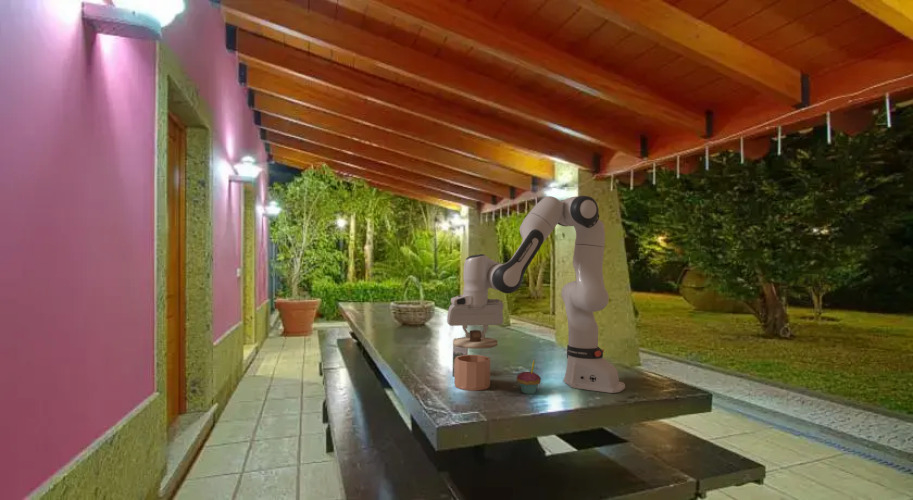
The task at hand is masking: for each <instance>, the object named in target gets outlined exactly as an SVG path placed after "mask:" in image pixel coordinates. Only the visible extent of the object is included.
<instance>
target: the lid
mask: <svg viewBox="0 0 913 500" xmlns="http://www.w3.org/2000/svg"><path fill="white" fill-rule="evenodd" d="M481 332H482V331H481V330H477V329H476V330H475V329H473V330H472V329H471V330H469V333H470V338H466V336H463V337H457V338H456V339H454V338H453V340H452V346H453V345H454V346H457V347H461V348H468V349H473V350H475V349H476V350H479V349H482V350H483V349H491V348H496V347H497V346H498V340H497V339H495V338H491V337H486V336H485V338H481Z"/></svg>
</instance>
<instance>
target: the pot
mask: <svg viewBox="0 0 913 500" xmlns="http://www.w3.org/2000/svg"><path fill="white" fill-rule="evenodd" d="M490 386H491V357H489V356H485V355H481V354H468V355H461V356H457V357H456V358H455V377H454V387H456V388H457V389H459V390H461V391H470V392H473V391H474V392H475V391H485V390H488V389H489V388H490Z"/></svg>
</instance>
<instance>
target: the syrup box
mask: <svg viewBox="0 0 913 500" xmlns="http://www.w3.org/2000/svg"><path fill="white" fill-rule="evenodd" d="M454 339H457V338H456V337H455V338H453V340H454ZM468 351H469V348H461V347H457V346H454V345H453V344H452V372H451V373H452V377H454V378H455V358H456V357H457V356H461V355H469V354H468Z"/></svg>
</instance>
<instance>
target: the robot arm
mask: <svg viewBox="0 0 913 500" xmlns="http://www.w3.org/2000/svg"><path fill="white" fill-rule="evenodd" d="M598 206H599V205H598V204H597V201H596V200H595V199H594V198H593V197H591V196H588V195H577V196H571V197H568V198H565V199H561V200H560V199H558V198H556V197H554V196H550V195H547V196H544V197H543V198H541V200H539V202H537V203H536V204H535V205H534V206H533V207H532V208H531V210H530V211H529V212H528V213H527V215H525V218H523V220H522V223H521V224H520V226H519V233H520V234H519V235H520V237H521V238H522V240H521V243H520V245H519V246H518V248H517V249H516V250H515V252H514V254H513V255H512V257H511V258H510V259H509V260H508V261H507V262H505V263H500V262H497V261H495V260H493V259H491V258H490V257H488V256H487V255H486V254H483V253H480V254H473V255H469V256H467V257H466V258H465V261H464V264H463V282H464V284H463V285H464V287H463V288H462V289H463V291H462V292H463V293H462V294H460V295H457V296H453V297H451V298H450V303H451V304H450V305H449V307H448V310H447V316H446V317H447V318H446V320H447V321H446V322H447V324H448V325H449V326H450V327H454V326H456V327H457V326H458V327H459V326H462V330H463V331H464V333H465V336H464V337H466V338H470V331H469V332H468V330H467V329H468V326H482V328H483V330H482V331H481V338H485V337H486V333H487V331H488V329H489V326H498V325H500V326H501V325H502V324H503V323H504V313H503V310H504V303H503V301H502V300H500V299H499V298H495V299H494V298H489V297H488V296H489V295H488V294H489V289H493V290H496V291H498V292H501V293H504V294H512V293H515V292H516V291H518V289H519V288H521V285H522V283H523V279H524V276H525V272H526V271H527V269H528V267H529V266H530V264H531V262H532V261H533V259H534V258H535V256H536V255H537V253H538V252H539V251H540V249H541V247H542V245H543V244H544V242H545V241H546V240H547V238H548V237H549V236H550V235H551V233H552V232H553V231H554V229H555V227H556V226H557V225H558V226H562V227H573V228H574V230H575V240H574V249H573V257H572V266H573V268H574V273H575V279H576V280H572V281H569V282H566V284H565V285H563V287H562V289H561V298H562V301H563V303H564V306H565V313H566V318H567V323H568V324H567V325H568V328H567V329H568V335H567V336H568V342H567V343H568V344H567V346H566V359H567V362H566V364H567V365H566V369H565V373H564V374H565V375H564V377H563V382H564V383H565V384H566V385H569V387H570V388H572V389H579V390H585V391H586V390H587V391H594V392H602V393H609V394H613V393H614V394H615V393H620V392H622V391H624V390H625V389H626V384H625V382H623V381H620V378H619V372H618V370H617V369H616V367H614V366H613V365H612V364H611V363H610V362H608V361H607V360H606V359H605V358H604V353H605V349H604V348H600V347H599V326H598V323H597V321H596V319H595V315H594V312H600V311H603V310H604V309H605V308H606V307H607V305H608V303H609V299H610V298H609V293H608V291H607V289H606V287H605V281H604V280H605V279H604V273H603V264H604V252H605V241H606V237H605V236H606V233H605V232H606V231H605V224H604V222H603V221H602V220H600V214H599V207H598Z"/></svg>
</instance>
